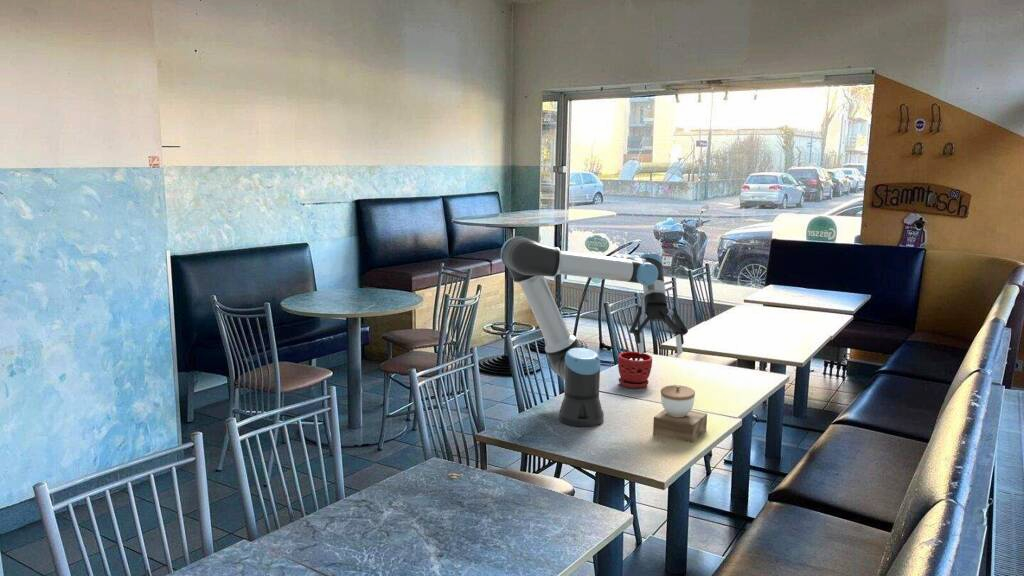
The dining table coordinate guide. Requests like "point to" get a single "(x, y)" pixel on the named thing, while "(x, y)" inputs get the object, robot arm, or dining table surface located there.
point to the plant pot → (634, 369)
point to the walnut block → (680, 425)
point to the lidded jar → (677, 400)
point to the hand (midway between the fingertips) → (660, 353)
